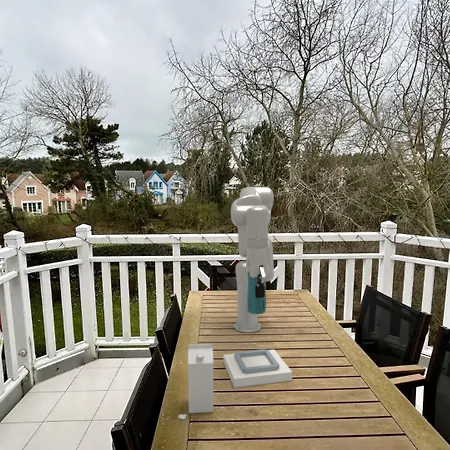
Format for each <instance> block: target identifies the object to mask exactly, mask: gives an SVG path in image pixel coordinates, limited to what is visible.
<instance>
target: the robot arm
mask: <svg viewBox="0 0 450 450" xmlns="http://www.w3.org/2000/svg"><path fill="white" fill-rule="evenodd" d="M274 197H275V196H274V192H273V190H272V188H270V187H268V186H247V187H244V188H242V190H241V191H240V193H239V198H237V199H236V200H234V201H232V204H231V207H230V219H231V223H232V224H233V225H234V226H235V227H237V238H238V239H237V247H238V249H237V250H238V253H239V254H238V255H239V256H240V257H242V258H245V260H241V261H239V262H238V263H236V265H235V276H236V277H235V278H236V287H237V288H236V291H237V296H236V297H237V298H236V299H237V301H236V302H237V307H236V310H237V311H236V312H237V313H236V316H237V319H236V322H235V323H234V324H233V328H234V329H235V330H236V331H237V332H241V333H256V332H259V331H260V330H261V329H262V324H261V323H260V322H259V320H258V319H259V317H258V316H259V314H251V313H249V312H248V309H247V308H248V302H247V298H248V292H247V291H248V271H249V272H250V276H251V277H252V278H255V279H256V286H255V297H256V298H263V297H265V280H266V282H271V281H272V280H273V279H274V276H275V270H274V269H275V267H274V247H273V242H272V240H271V239H270V238H269V223H270V222H271V219H272V215H271V212H272V208H273V205H274V200H275V199H274ZM258 275H261V277H257V276H258ZM258 279H261V280H259V282H258Z"/></svg>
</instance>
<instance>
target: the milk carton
mask: <svg viewBox="0 0 450 450" xmlns="http://www.w3.org/2000/svg"><path fill="white" fill-rule="evenodd" d="M213 349H214V347H213V343H202V344H201V343H200V344H199V343H198V344H197V343H196V344H195V343H194V344H188V347H187V350H188V351H187V353H188V354H187V355H188V356H187V360H188V361H187V369H188V371H187V372H188V373H187V375H188V376H187V384H188V388H187V389H188V414H201V413H214V350H213Z"/></svg>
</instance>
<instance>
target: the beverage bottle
mask: <svg viewBox="0 0 450 450" xmlns="http://www.w3.org/2000/svg"><path fill="white" fill-rule="evenodd" d="M257 277H261V275H258V276H257ZM259 280H261V279H258V282H259ZM255 286H256V279H255V278H252V277H251V276H250V272H249V271H248V291H247V292H248V298H247V302H248V308H247V309H248V312H249V313H251V314H258V315H263V314H265V313H266V311H267V310H266V309H267V296H266V295H267V291H266V289H267V281H266V280H265V297H263V298H256V297H255Z"/></svg>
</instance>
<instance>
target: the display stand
mask: <svg viewBox="0 0 450 450" xmlns="http://www.w3.org/2000/svg"><path fill="white" fill-rule="evenodd" d="M222 361H223V362H222V363H223V365H224V367H225V369H226V371H227V375H228V376H229V379H230V381H231V383H232V385H233V388H234V389H236V388H243V387H250V386H251V387H252V386H258V385H259V386H260V385H265V384H266V385H268V384H274V383H283V382H290V381H293V371H292V370H291V368H290V367H289V366H288V365H287V364H286V362H285V361H284V360H283V359H282V357H281V356H280V355H279V353H278V352H277V351H276V350H275V349H265V348H264V349H254V350H245V351H236V352H235V353H229V354H223V359H222Z"/></svg>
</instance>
